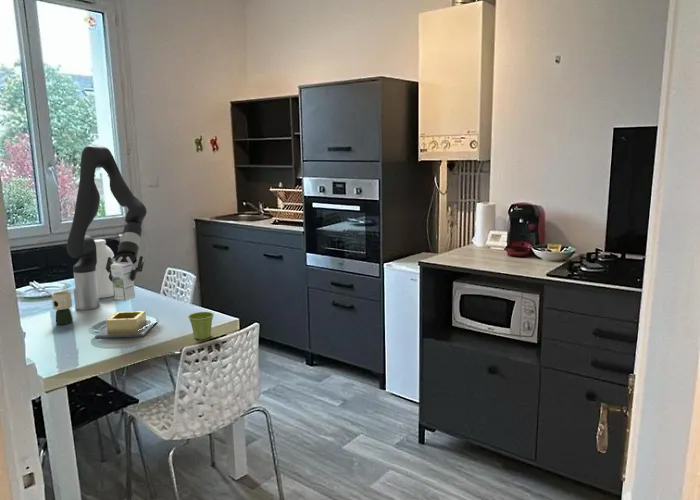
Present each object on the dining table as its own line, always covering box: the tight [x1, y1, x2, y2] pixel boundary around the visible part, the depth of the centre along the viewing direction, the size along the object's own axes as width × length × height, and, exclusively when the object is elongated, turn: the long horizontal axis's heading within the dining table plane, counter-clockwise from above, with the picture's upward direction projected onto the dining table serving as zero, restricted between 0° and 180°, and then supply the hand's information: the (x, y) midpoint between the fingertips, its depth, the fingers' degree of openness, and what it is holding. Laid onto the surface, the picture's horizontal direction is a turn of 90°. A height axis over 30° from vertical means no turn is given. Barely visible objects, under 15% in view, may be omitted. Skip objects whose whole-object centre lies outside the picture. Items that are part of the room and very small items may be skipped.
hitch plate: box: [95, 310, 158, 339], centre depth 213 cm, size 18×18×6 cm
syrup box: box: [111, 262, 136, 302], centre depth 211 cm, size 6×6×14 cm
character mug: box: [51, 290, 74, 325], centre depth 223 cm, size 11×7×13 cm, turn 44°
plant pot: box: [187, 311, 215, 340], centre depth 203 cm, size 9×9×9 cm
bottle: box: [94, 238, 116, 299], centre depth 268 cm, size 14×14×28 cm
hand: (121, 280), depth 209 cm, fingers closed on syrup box, 7 cm apart
